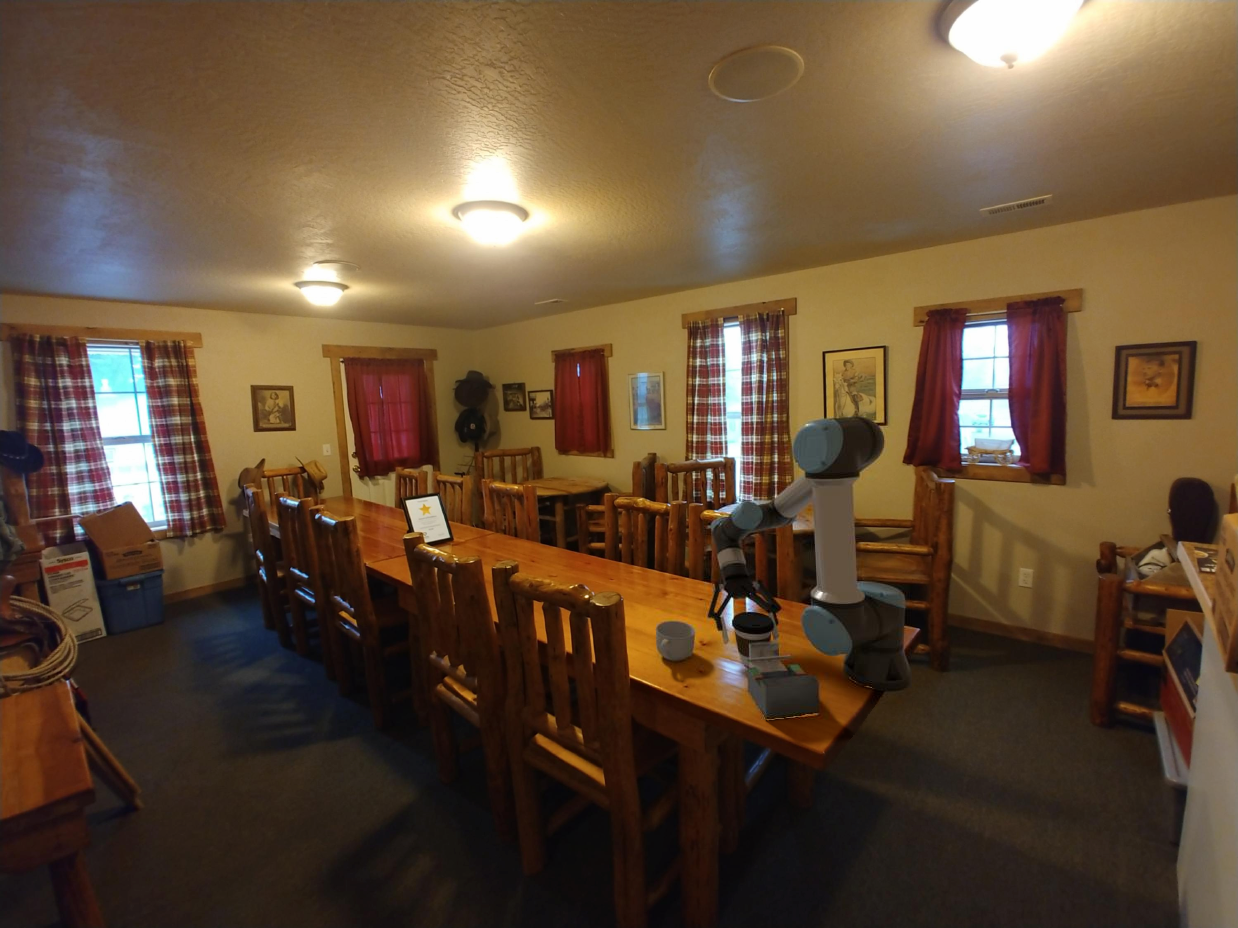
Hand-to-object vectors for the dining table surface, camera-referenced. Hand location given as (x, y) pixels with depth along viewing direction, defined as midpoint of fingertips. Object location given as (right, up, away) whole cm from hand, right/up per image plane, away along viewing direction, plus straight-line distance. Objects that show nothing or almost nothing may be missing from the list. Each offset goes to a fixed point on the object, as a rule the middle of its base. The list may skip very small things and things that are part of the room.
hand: (751, 640), depth 136 cm
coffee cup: (+1, -6, +1) cm, 6 cm away
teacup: (-20, -7, +5) cm, 22 cm away
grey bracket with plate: (+1, -6, -10) cm, 12 cm away
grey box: (+2, -8, -18) cm, 20 cm away
